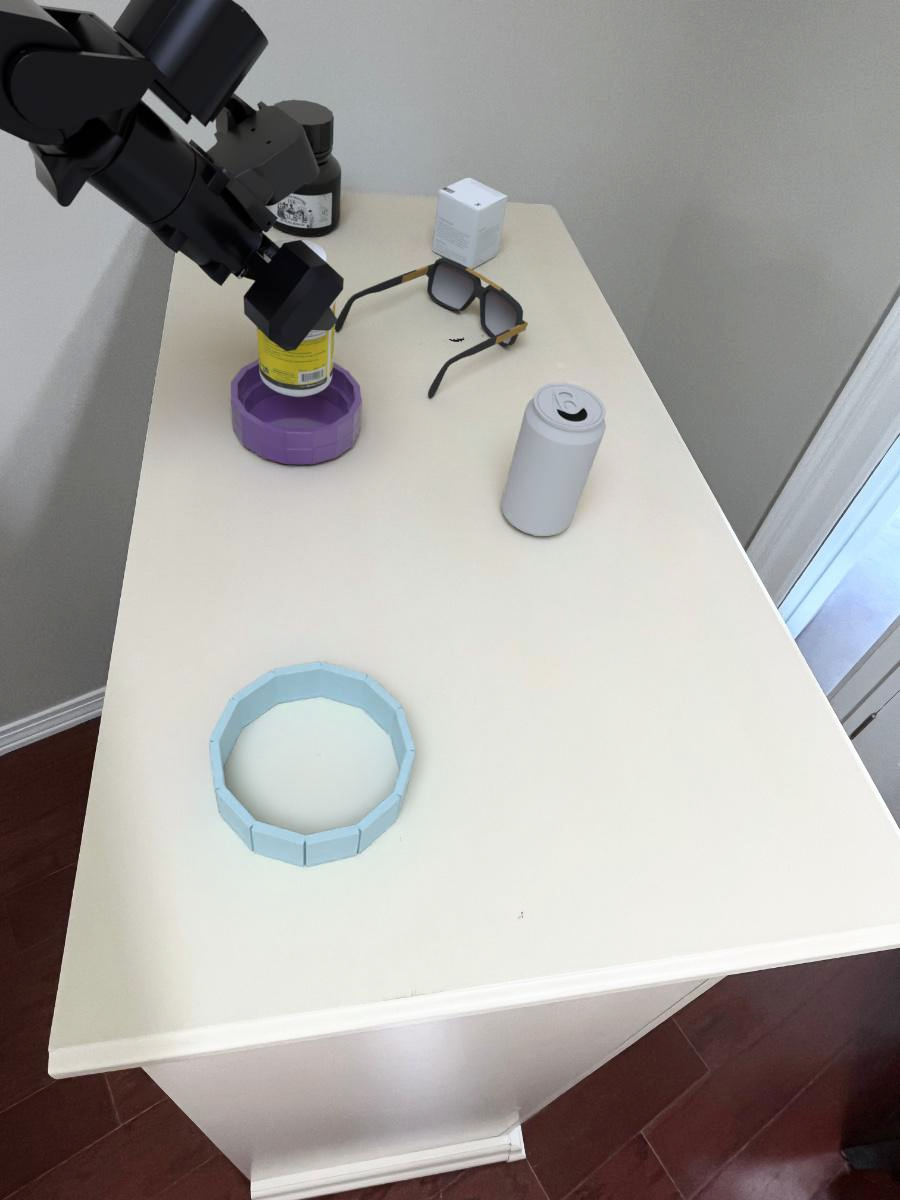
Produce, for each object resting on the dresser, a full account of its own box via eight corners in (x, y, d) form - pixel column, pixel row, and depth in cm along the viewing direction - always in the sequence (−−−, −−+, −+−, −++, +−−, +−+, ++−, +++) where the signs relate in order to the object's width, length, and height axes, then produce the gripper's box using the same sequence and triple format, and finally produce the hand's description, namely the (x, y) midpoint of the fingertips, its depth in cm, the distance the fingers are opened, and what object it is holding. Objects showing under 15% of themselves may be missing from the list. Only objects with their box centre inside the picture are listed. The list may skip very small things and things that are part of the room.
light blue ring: (182, 831, 48) (174, 807, 45) (260, 671, 55) (257, 642, 53) (376, 889, 47) (380, 867, 44) (427, 719, 55) (433, 692, 52)
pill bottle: (282, 348, 70) (280, 224, 62) (344, 371, 69) (351, 249, 61) (244, 383, 66) (237, 256, 58) (310, 408, 65) (312, 283, 57)
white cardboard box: (498, 256, 98) (510, 195, 92) (469, 272, 94) (479, 210, 89) (459, 236, 100) (469, 175, 94) (429, 251, 96) (437, 188, 91)
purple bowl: (213, 448, 69) (208, 411, 66) (262, 377, 76) (260, 341, 73) (335, 482, 68) (337, 446, 65) (373, 407, 76) (376, 372, 73)
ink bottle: (250, 224, 94) (244, 114, 85) (280, 195, 100) (277, 88, 90) (327, 246, 93) (330, 137, 84) (353, 215, 99) (357, 110, 90)
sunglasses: (334, 332, 83) (335, 287, 79) (435, 290, 91) (440, 247, 87) (429, 400, 78) (435, 356, 74) (526, 349, 86) (536, 307, 82)
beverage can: (510, 544, 67) (543, 433, 57) (490, 492, 70) (518, 379, 61) (580, 539, 68) (623, 429, 59) (557, 487, 72) (594, 377, 63)
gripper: (322, 133, 44) (447, 279, 58) (169, 17, 52) (311, 170, 66) (203, 294, 46) (351, 398, 60) (74, 158, 54) (230, 277, 68)
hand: (310, 303), depth 63 cm, fingers closed on pill bottle, 6 cm apart
